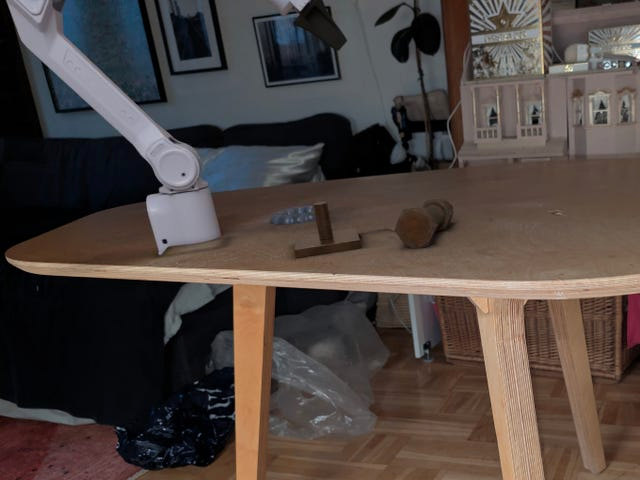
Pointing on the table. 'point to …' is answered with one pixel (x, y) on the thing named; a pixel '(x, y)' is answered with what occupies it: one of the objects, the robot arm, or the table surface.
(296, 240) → the stand
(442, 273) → the table surface
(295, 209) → the ring
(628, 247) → the table surface
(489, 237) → the table surface
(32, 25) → the robot arm
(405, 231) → the bolt
